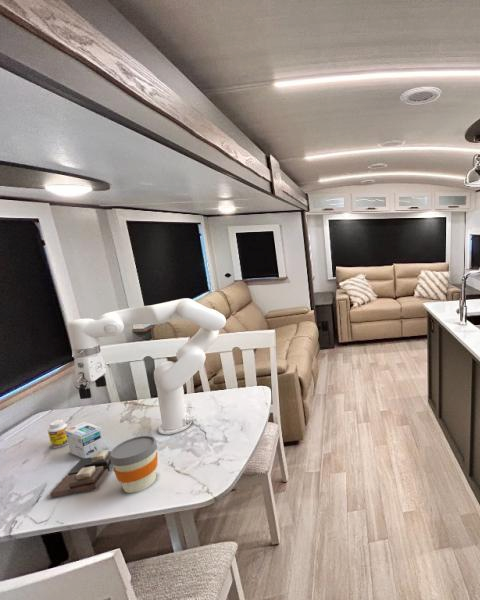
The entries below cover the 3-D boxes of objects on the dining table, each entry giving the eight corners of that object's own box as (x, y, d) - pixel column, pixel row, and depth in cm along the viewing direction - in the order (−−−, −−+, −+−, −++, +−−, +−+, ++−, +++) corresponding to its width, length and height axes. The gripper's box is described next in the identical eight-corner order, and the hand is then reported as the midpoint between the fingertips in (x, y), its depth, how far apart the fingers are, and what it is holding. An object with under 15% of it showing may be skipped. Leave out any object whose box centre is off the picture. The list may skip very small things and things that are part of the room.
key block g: (108, 473, 117) (106, 464, 116) (96, 489, 109) (94, 479, 109) (66, 481, 113) (64, 471, 112) (51, 498, 105) (49, 488, 105)
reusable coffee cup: (152, 492, 109) (146, 455, 105) (108, 500, 105) (100, 462, 102) (167, 467, 120) (162, 432, 117) (128, 473, 117) (121, 438, 114)
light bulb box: (106, 449, 129) (101, 426, 127) (85, 460, 123) (80, 435, 121) (89, 443, 133) (85, 420, 130) (69, 453, 126) (63, 429, 124)
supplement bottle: (49, 450, 128) (44, 427, 126) (54, 442, 133) (49, 420, 130) (68, 445, 131) (63, 423, 129) (72, 438, 136) (67, 417, 133)
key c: (109, 454, 122) (108, 449, 121) (104, 460, 118) (103, 455, 118) (97, 456, 120) (96, 451, 120) (92, 462, 117) (91, 457, 117)
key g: (95, 470, 113) (94, 465, 113) (90, 477, 110) (89, 472, 109) (83, 472, 112) (82, 467, 112) (77, 480, 109) (75, 475, 108)
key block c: (120, 457, 125) (118, 448, 124) (109, 471, 118) (108, 462, 117) (82, 463, 121) (80, 454, 120) (68, 478, 114) (66, 469, 113)
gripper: (84, 358, 112) (92, 402, 116) (111, 342, 129) (117, 381, 132) (57, 360, 110) (66, 404, 114) (88, 344, 126) (95, 383, 130)
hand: (94, 392), depth 123 cm, fingers open, 9 cm apart
